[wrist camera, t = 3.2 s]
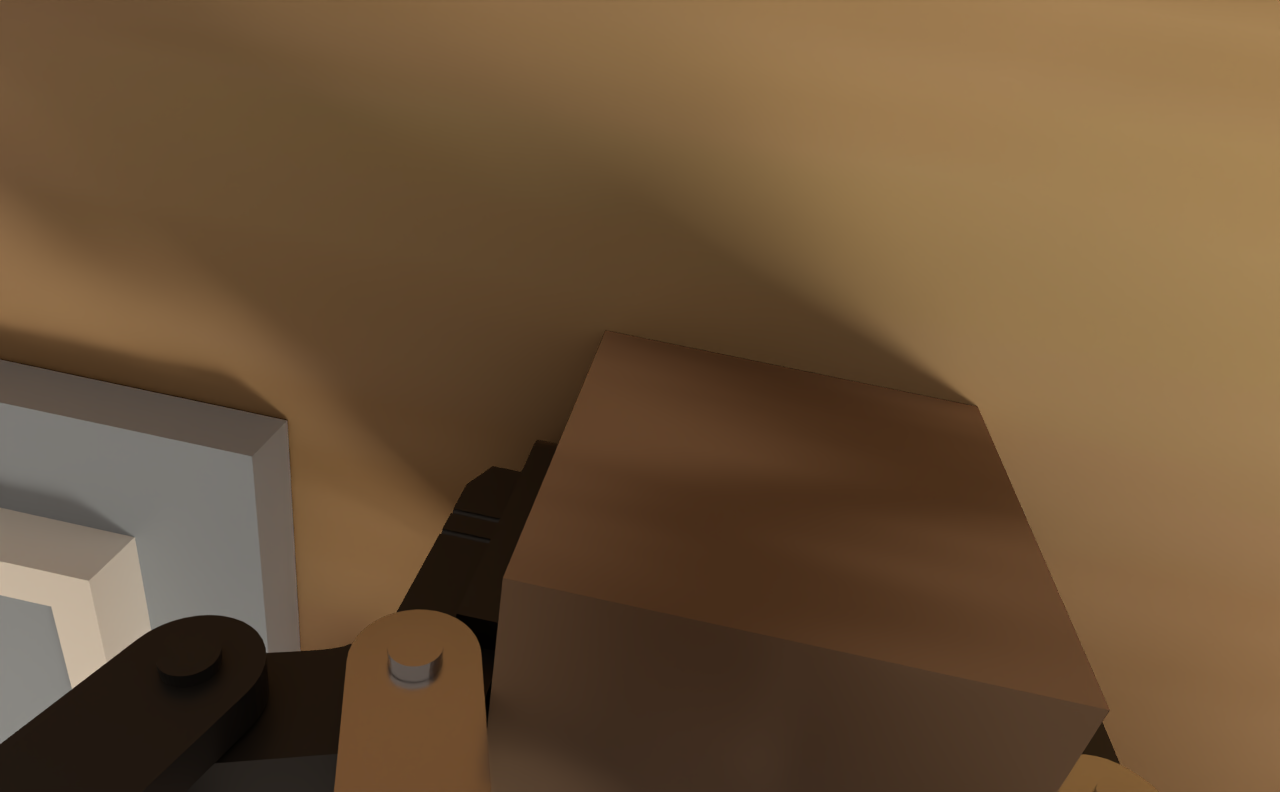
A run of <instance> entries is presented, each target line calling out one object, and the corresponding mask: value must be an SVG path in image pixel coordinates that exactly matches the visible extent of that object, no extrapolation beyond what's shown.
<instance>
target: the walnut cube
mask: <svg viewBox="0 0 1280 792" xmlns="http://www.w3.org/2000/svg"><path fill="white" fill-rule="evenodd" d="M1108 712H1109V707H1108V705H1107V703H1106V701H1105V698H1104V696H1103V694H1102V691H1101V689H1100V687H1099V684H1098V682H1097V680H1096V678H1095V675H1094V673H1093V671H1092V668H1091V666H1090V664H1089V662H1088V659H1087V657H1086V655H1085V652H1084V650H1083V648H1082V645H1081V643H1080V641H1079V639H1078V636H1077V634H1076V632H1075V629H1074V627H1073V625H1072V622H1071V620H1070V618H1069V616H1068V613H1067V611H1066V609H1065V606H1064V604H1063V602H1062V599H1061V597H1060V595H1059V593H1058V590H1057V588H1056V586H1055V583H1054V581H1053V579H1052V577H1051V574H1050V572H1049V570H1048V567H1047V565H1046V563H1045V560H1044V558H1043V556H1042V554H1041V551H1040V549H1039V547H1038V544H1037V542H1036V540H1035V537H1034V535H1033V533H1032V531H1031V528H1030V526H1029V524H1028V521H1027V519H1026V517H1025V514H1024V512H1023V510H1022V508H1021V505H1020V503H1019V501H1018V498H1017V496H1016V494H1015V492H1014V489H1013V487H1012V485H1011V482H1010V480H1009V478H1008V475H1007V473H1006V471H1005V469H1004V466H1003V464H1002V462H1001V459H1000V457H999V455H998V452H997V450H996V448H995V446H994V443H993V441H992V439H991V436H990V434H989V432H988V430H987V427H986V425H985V423H984V420H983V418H982V416H981V413H980V411H979V409H978V407H977V406H972V405H967V404H962V403H957V402H952V401H947V400H942V399H938V398H933V397H928V396H923V395H918V394H913V393H908V392H903V391H899V390H894V389H889V388H884V387H879V386H874V385H869V384H864V383H859V382H855V381H850V380H845V379H840V378H835V377H830V376H825V375H820V374H816V373H811V372H806V371H801V370H796V369H791V368H786V367H781V366H777V365H772V364H767V363H762V362H757V361H752V360H747V359H742V358H737V357H733V356H728V355H723V354H718V353H713V352H708V351H703V350H698V349H694V348H689V347H684V346H679V345H674V344H669V343H664V342H659V341H655V340H650V339H645V338H640V337H635V336H630V335H625V334H620V333H615V332H611V331H605V333H604V336H603V338H602V340H601V343H600V345H599V348H598V350H597V352H596V355H595V357H594V360H593V362H592V365H591V367H590V369H589V372H588V374H587V377H586V379H585V381H584V384H583V386H582V389H581V391H580V393H579V396H578V398H577V401H576V403H575V405H574V408H573V410H572V413H571V415H570V417H569V420H568V422H567V425H566V427H565V430H564V432H563V434H562V437H561V439H560V442H559V444H558V446H557V449H556V451H555V454H554V456H553V458H552V461H551V463H550V466H549V468H548V470H547V473H546V475H545V478H544V480H543V482H542V485H541V487H540V490H539V492H538V495H537V497H536V499H535V502H534V504H533V507H532V509H531V511H530V514H529V516H528V519H527V521H526V523H525V526H524V528H523V531H522V533H521V535H520V538H519V540H518V543H517V545H516V548H515V550H514V552H513V555H512V557H511V560H510V562H509V564H508V567H507V569H506V572H505V574H504V576H503V581H502V591H501V601H500V610H499V620H498V629H497V639H496V649H495V658H494V668H493V677H492V687H491V697H490V706H489V716H488V725H487V737H488V750H489V764H490V777H491V791H492V792H1058V790H1059V789H1060V787H1061V786H1062V784H1063V783H1064V781H1065V779H1066V778H1067V776H1068V775H1069V773H1070V772H1071V770H1072V768H1073V767H1074V765H1075V764H1076V762H1077V761H1078V759H1079V757H1080V756H1081V754H1082V753H1083V751H1084V750H1085V748H1086V746H1087V745H1088V743H1089V742H1090V740H1091V739H1092V737H1093V736H1094V734H1095V732H1096V731H1097V729H1098V728H1099V726H1100V725H1101V723H1102V721H1103V720H1104V718H1105V717H1106V715H1107V714H1108Z"/></svg>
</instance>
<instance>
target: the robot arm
mask: <svg viewBox="0 0 1280 792" xmlns="http://www.w3.org/2000/svg"><path fill="white" fill-rule="evenodd" d="M557 446H558V444H556V443H551V442H546V441H541V440H537V441H536V442H535V444H534V446H533V448H532V450H531V453H530V455H529V457H528V459H527V461H526V463H525V466H524V468H523V470H522V472H518V471H513V470H508V469H504V468H499V467H494V466H493V467H491V468H490V469H488V470H487V471H485V472H484V473H483V474H481V475H480V476H478V477H477V478H475V479H474V480H472V481H471V482H469V483H468V484H467V485H466V487H465V489H464V491H463V492H462V494H461V496H460V498H459V500H458V501H457V503H456V505H455V507H454V510H453V513H451V514H450V516H449V518H448V520H447V522H446V523H445V525H444V527H443V530H442V533H441V534H439V536H438V538H437V540H436V542H435V543H434V545H433V547H432V549H431V551H430V553H429V554H428V556H427V558H426V560H425V562H424V563H423V565H422V567H421V569H420V571H419V573H418V574H417V576H416V578H415V580H414V582H413V584H412V585H411V587H410V589H409V591H408V593H407V594H406V596H405V598H404V600H403V602H402V604H401V605H400V607H399V609H398V610H397V612H396V613H393V614H390V615H387V616H384V617H382V618H380V619H378V620H376V621H374V622H373V623H372V624H370V625H369V626H367V627H366V628H365V629H364V630H363V631H362V632H361V633H360V634H359V635H358V636H357V637H356V639H355V640H354V642H353V643H352V644H349V645H346V646H343V647H338V648H333V649H326V650H314V651H293V652H272V653H266V647H265V644H264V642H263V639H262V638H261V636H260V635H259V633H258V632H257V631H256V630H255V629H254V628H252V627H251V626H250V625H248V624H246V623H245V622H243V621H240V620H237V619H235V618H231V617H226V616H220V615H198V616H192V617H185V618H182V619H178V620H174V621H171V622H168V623H166V624H163V625H161V626H159V627H157V628H155V629H153V630H151V631H149V632H147V633H146V634H144V635H143V636H141V637H140V638H138V639H137V640H136V641H134V642H133V643H132V644H130V645H129V646H128V647H126V648H125V649H124V650H122V651H121V652H120V653H119V654H117V655H116V656H115V657H113V658H112V659H111V660H109V661H108V662H107V663H105V664H104V665H103V666H102V667H100V668H99V669H98V670H96V671H95V672H94V673H92V674H91V675H90V676H88V677H87V678H86V679H85V680H83V681H82V682H81V683H79V684H78V685H77V686H75V687H74V688H73V689H71V690H70V691H69V692H68V693H66V694H65V695H64V696H62V697H61V698H60V699H58V700H57V701H56V702H54V703H53V704H52V705H51V706H49V707H48V708H47V709H45V710H44V711H43V712H41V713H40V714H39V715H37V716H36V717H35V718H34V719H32V720H31V721H30V722H28V723H27V724H26V725H24V726H23V727H22V728H20V729H19V730H18V731H17V732H15V733H14V734H13V735H11V736H10V737H9V738H7V739H6V740H5V741H3V742H2V743H1V744H0V792H492V791H491V777H490V764H489V750H488V737H487V725H488V716H489V706H490V697H491V687H492V677H493V668H494V658H495V649H496V639H497V629H498V620H499V610H500V601H501V591H502V581H503V576H504V574H505V572H506V569H507V567H508V564H509V562H510V560H511V557H512V555H513V552H514V550H515V548H516V545H517V543H518V540H519V538H520V535H521V533H522V531H523V528H524V526H525V523H526V521H527V519H528V516H529V514H530V511H531V509H532V507H533V504H534V502H535V499H536V497H537V495H538V492H539V490H540V487H541V485H542V482H543V480H544V478H545V475H546V473H547V470H548V468H549V466H550V463H551V461H552V458H553V456H554V454H555V451H556V449H557ZM1058 792H1159V791H1158V790H1157V789H1156V788H1155V787H1154V786H1152V785H1151V784H1150V783H1148V782H1147V781H1146V780H1145V779H1143V778H1142V777H1140V776H1139V775H1137V774H1136V773H1134V772H1133V771H1131V770H1129V769H1128V768H1126V767H1124V766H1122V765H1120V763H1119V761H1118V758H1117V756H1116V754H1115V751H1114V749H1113V746H1112V744H1111V742H1110V739H1109V737H1108V735H1107V732H1106V730H1105V727H1104V725H1103V723H1101V725H1100V726H1099V728H1098V729H1097V731H1096V732H1095V734H1094V736H1093V737H1092V739H1091V740H1090V742H1089V743H1088V745H1087V746H1086V748H1085V750H1084V751H1083V753H1082V754H1081V756H1080V757H1079V759H1078V761H1077V762H1076V764H1075V765H1074V767H1073V768H1072V770H1071V772H1070V773H1069V775H1068V776H1067V778H1066V779H1065V781H1064V783H1063V784H1062V786H1061V787H1060V789H1059V790H1058Z"/></svg>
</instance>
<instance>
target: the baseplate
mask: <svg viewBox="0 0 1280 792" xmlns="http://www.w3.org/2000/svg"><path fill="white" fill-rule="evenodd" d="M198 615H220V616H226V617H231V618H235V619H237V620H240V621H243V622H245V623H246V624H248V625H250V626H251V627H252V628H254V629H255V630H256V631H257V632H258V633H259V635H260V636H261V638H262V639H263V642H264V644H265V647H266V653H272V652H293V651H301V650H300V632H299V615H298V597H297V580H296V562H295V544H294V527H293V509H292V492H291V474H290V456H289V439H288V421H287V420H283V419H278V418H273V417H269V416H264V415H259V414H254V413H250V412H245V411H240V410H236V409H231V408H226V407H221V406H217V405H212V404H207V403H203V402H198V401H193V400H188V399H184V398H179V397H174V396H170V395H165V394H160V393H155V392H151V391H146V390H141V389H137V388H132V387H127V386H122V385H118V384H113V383H108V382H104V381H99V380H94V379H89V378H85V377H80V376H75V375H71V374H66V373H61V372H56V371H52V370H47V369H42V368H38V367H33V366H28V365H23V364H19V363H14V362H9V361H5V360H0V744H1V743H2V742H3V741H5V740H6V739H7V738H9V737H10V736H11V735H13V734H14V733H15V732H17V731H18V730H19V729H20V728H22V727H23V726H24V725H26V724H27V723H28V722H30V721H31V720H32V719H34V718H35V717H36V716H37V715H39V714H40V713H41V712H43V711H44V710H45V709H47V708H48V707H49V706H51V705H52V704H53V703H54V702H56V701H57V700H58V699H60V698H61V697H62V696H64V695H65V694H66V693H68V692H69V691H70V690H71V689H73V688H74V687H75V686H77V685H78V684H79V683H81V682H82V681H83V680H85V679H86V678H87V677H88V676H90V675H91V674H92V673H94V672H95V671H96V670H98V669H99V668H100V667H102V666H103V665H104V664H105V663H107V662H108V661H109V660H111V659H112V658H113V657H115V656H116V655H117V654H119V653H120V652H121V651H122V650H124V649H125V648H126V647H128V646H129V645H130V644H132V643H133V642H134V641H136V640H137V639H138V638H140V637H141V636H143V635H144V634H146V633H147V632H149V631H151V630H153V629H155V628H157V627H159V626H161V625H163V624H166V623H168V622H171V621H174V620H178V619H182V618H185V617H192V616H198Z"/></svg>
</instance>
